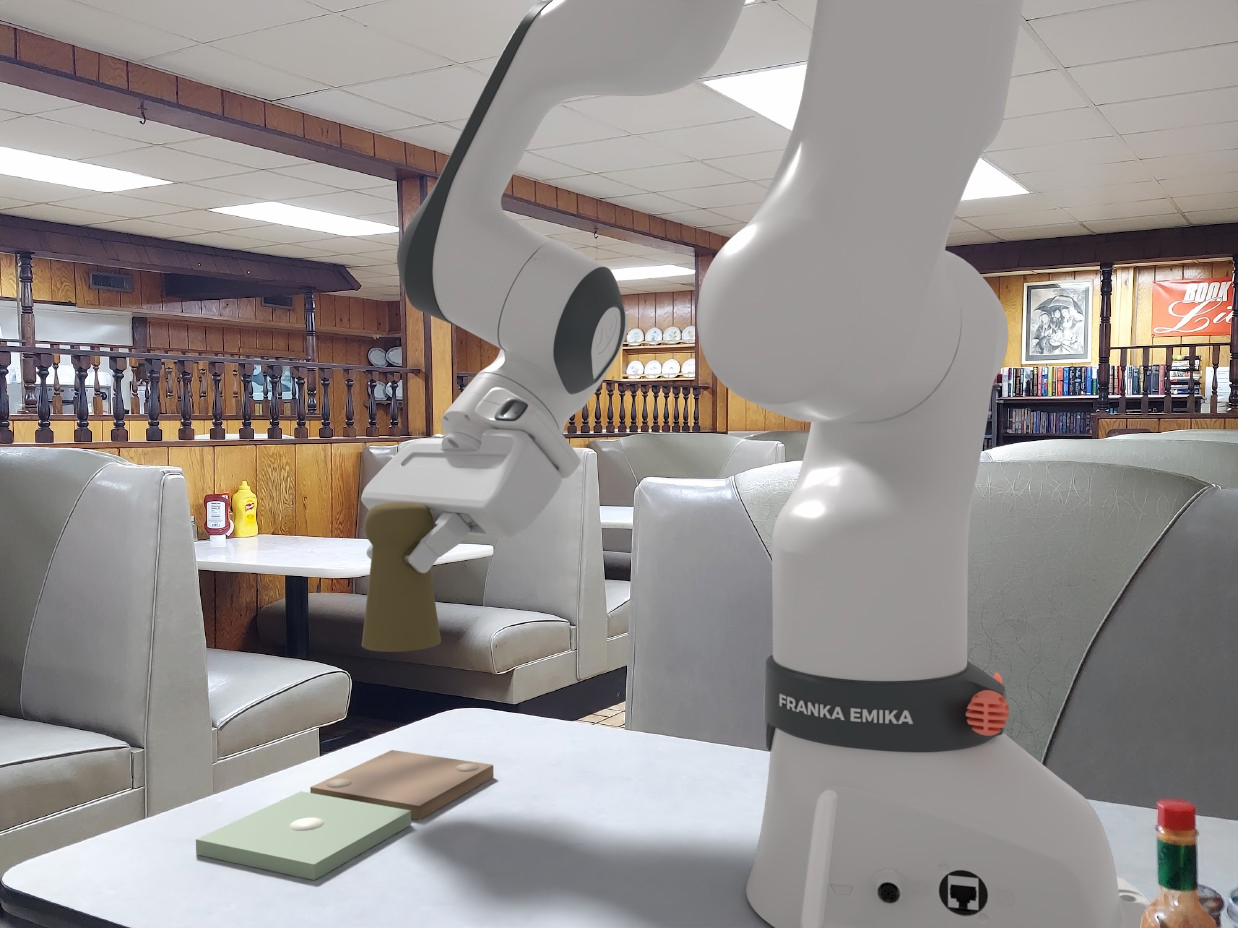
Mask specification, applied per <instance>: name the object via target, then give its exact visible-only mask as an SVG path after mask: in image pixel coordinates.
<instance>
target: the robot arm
mask: <svg viewBox="0 0 1238 928" xmlns="http://www.w3.org/2000/svg"><path fill="white" fill-rule="evenodd" d="M746 1H747V0H541V1H539V2H538V3H536V4H535V5H533V6H532V7H531V8H530V9H529V10H528V11H527V13H526V14H525V16H523V18H522V19H521V21H520V22H519V23H518V24H517V26H516V28H515V30H514V31H513V33H512V35H510V37H509V40H508V41H507V43H506V45H505V46H504V48H503V50H502V52H501V54H500V56H499V58H497V61H496V63H495V66H494V67H493V69H492V70H491V73H490V75H489V76H488V78H487V81H486V82H485V84H484V87H483V88H482V90H481V92H480V95H479V97H478V99H477V100H476V103H475V105H474V107H473V109H472V111H470V112H471V113H470V114H469V117H468V119H467V121H466V122H465V125H464V127H463V128H462V130H461V133H460V134H459V136H458V139H457V140H456V143H455V145H454V147H453V149H452V151H451V153H450V155H449V157H448V159H447V161H446V162H445V165H444V166H443V169H442V170H441V172H440V175H439V177H438V178H437V181H436V182H435V184H434V185H433V187H432V189H431V190H430V192H429V193H428V194H427V196H426V198H425V199H424V200H423V202H422V204H421V205H420V206H419V207H418V209H417V210H416V212H415V214H414V215H413V216H412V218H411V220H410V221H409V223H408V224H407V226H406V228H405V230H404V232H403V234H402V236H401V239H400V241H399V244H398V246H397V253H396V265H397V270H398V275H399V278H400V282H401V284H402V288H403V290H404V293H405V295H406V297H407V299H408V302H409V303H410V305H411V306H412V307H413V308H414V309H415V310H416V311H419V312H422V313H423V314H427V315H429V316H432V317H433V318H436V319H438V320H440V321H442V322H444V323H445V322H446V323H448V324H449V325H453V326H458V327H460V329H463V330H465V331H467V332H469V333H471V334H472V335H474V336H476V337H478V338H480V339H482V340H484V341H486V342H488V343H489V344H491V345H493V346H495V347H496V348H499V349H500V350H499V353H498V355H497V357H496V358H495V360H494V361H493V362H492V363H491V364H489V365H488V366H487V367H484V369H482V370H480V371H479V372H478V373H477V374H476V375H475V376H474V377H473V378H472V380H471V381H470V382H469V383H468V384H467V385H466V386H465V388H464V389H463V391H462V392H461V393H460V394H459V395H458V396H457V398H456V399H455V400H454V401H453V403H452V404H451V405H449V407H448V408H447V410H446V411H445V412H444V413H443V414H442V417H441V420H440V424H441V430H442V431H443V432H442V433H444V434H441V433H436V434H434V435H432V436H430V437H429V438H417V439H413V440H412V441H411V442H409V443H408V444H406V445H405V446H404V447H403V448H402V449H400V450H399V451H397V453H396V454H395V455H394V456H393V457H392V458H391V459H390V460H389V461H388V462H387V463H386V464H385V465H384V466H383V467H382V468H381V469H380V470H379V471H378V472H377V474H375V476H374V477H373V478H372V479H371V480H370V481H369V482H368V483H367V484H366V486H364V489H363V491H362V494H361V498H360V501H361V503H362V504H363V505H364V506H365V507H366V508H367V509H368V511H369V510H370V509H371V508H372V507H374V506H376V505H379V504H383V503H387V502H398V501H407V502H414V503H419V504H422V505H424V506H426V507H427V508H428V509H429V510H430V512H431V513H432V517H433V530H432V531H430V532H429V533H428V534H427V535H426V536H425V537H424V538H423V539H422V540H421V541H420V542H417V541H416V542H415V543H413V544H412V545H411V546H410V547H409V548H408V550H407V551H406V552H405V553H404V554H403V557H402V561H403V562H404V563H405V564H406V565H407V566H408V567H409V568H410V569H412V570H413V571H415V572H420V573H426V572H428V570H429V569H430V570H431V568H432V567H433V566H434V564H435V563H436V561H438V559H439V558H441V557H443V556H444V555H445V554H447V553H448V552H449V551H452V549H454V548H455V547H457V546H458V545H459V544H461V543H462V542H463V541H464V540H465V538H466V537H467V536H468V535H473V536H480V537H489V538H498V539H505V540H512V539H515V538H516V537H518V536H519V535H521V534H523V533H524V532H525V531H527V530H528V529H529V528H530V527H532V525H533V524H534V523H535V522H536V520H537V519H538V518H539V516H541V514H542V513H543V511H544V510H545V509H546V508H547V506H548V505H549V504H550V502H551V501H552V500H553V498H554V497H555V495H556V494H557V492H558V491H559V489H560V487H561V485H562V482H563V480H564V479H567V478H569V477H571V476H572V475H573V474H574V473H575V471H576V470H577V469H578V468H579V466H580V464H581V459H580V457H579V455H578V453H577V452H576V451H575V449H574V448H573V446H572V445H571V443H569V441H568V440H567V438H566V437H565V436H564V434H563V433H564V430H565V427H566V424H567V423H568V421H569V420H570V418H571V417H572V416H573V415H575V414H576V413H579V411H581V410H582V409H583V408H584V407H585V406H586V405H587V404H588V402H589V401H590V399H592V397H593V395H594V394H595V393H596V392H597V390H598V388H599V387H600V386H601V384H602V382H603V381H604V379H605V377H607V375H608V373H609V371H610V370H611V368H612V366H613V364H614V363H615V361H616V359H617V357H618V355H619V353H620V350H621V349H622V346H623V344H624V342H625V340H626V337H627V334H628V329H629V320H628V316H627V312H626V309H625V307H624V302H623V299H622V295H621V290H620V287H619V285H618V282H617V280H616V277H615V274H613V272H612V270H611V269H610V268H608V267H607V266H605V265H603V264H602V263H601V262H599V261H597V260H596V259H594V258H592V257H590V256H588V255H586V254H584V253H583V252H582V251H579V250H577V249H575V248H572V247H571V246H569V245H567V244H565V243H563V242H561V241H559V240H554V239H553V238H550V237H548V236H547V235H545V234H543V233H541V232H539V231H536V229H533V228H532V227H529V226H527V225H525V224H523V223H521V222H519V221H517V220H515V219H513V218H512V217H509V216H508V215H507V214H505V212H504V210H503V206H502V197H503V195H504V192H505V190H506V188H507V186H508V185H509V182H510V181H511V179H512V177H513V176H514V173H515V171H516V169H517V167H519V163H521V160H522V159H523V157H524V154H525V152H526V150H527V149H528V147H529V146H530V143H531V141H532V139H533V138H534V135H535V133H536V132H537V130H538V128H539V126H540V124H541V122H542V121H543V119H544V118H545V117H546V116H547V114H548V113H549V112H550V111H552V109H553V108H555V107H556V106H557V105H559V104H561V103H563V102H565V101H567V100H569V99H573V98H579V97H583V96H615V97H616V96H621V97H625V96H626V97H646V96H656V95H657V96H658V95H663V94H668V93H672V92H674V91H678V90H680V89H683V88H685V87H686V86H689V85H691V84H693V83H694V82H696V81H697V80H699V79H700V78H701V77H703V76H705V75H706V74H707V73H708V72H709V71H710V70H711V69H712V68H713V67H714V66H715V64H716V63H717V61H718V59H719V58H720V57H721V55H722V53H723V51H725V48H726V47H727V45H728V43H729V40H730V38H731V36H732V34H733V32H734V29H735V28H736V26H737V23H738V21H739V18H740V16H741V14H742V10H743V8H744V6H745V3H746ZM1023 5H1024V0H817V1H816V7H815V13H814V20H813V25H812V26H813V27H812V33H811V38H810V43H809V44H810V45H809V51H808V56H807V62H806V69H805V75H804V80H803V81H804V82H803V86H802V87H803V88H802V93H801V98H800V103H799V106H798V111H797V114H796V118H795V120H794V124H793V127H792V130H791V133H790V136H789V138H788V142H787V145H786V147H785V149H784V153H783V155H782V158H781V160H780V162H779V164H778V167H777V169H776V172H775V173H774V175H773V178H772V180H771V183H770V185H769V187H768V190H767V192H766V194H765V196H764V198H763V200H762V201H761V203H760V205H759V207H758V209H757V211H756V212H755V214H754V216H752V218H751V219H750V221H749V222H748V223H747V224H745V226H744V227H743V228H742V229H740V230H739V231H737V233H736V234H734V235H733V236H732V237H731V238H730V239H729V240H727V242H726V243H725V244H724V245H723V246H722V247H721V248H720V250H719V251H718V252H717V253H716V255H715V257H714V258H713V260H712V261H711V263H710V265H709V267H708V269H707V271H706V272H705V275H704V277H703V280H702V283H701V286H700V290H699V294H698V300H697V308H696V309H697V310H696V326H697V327H696V329H697V335H698V340H699V344H700V347H701V351H702V353H703V356H704V359H706V360H705V361H706V362H707V364H708V366H709V368H710V369H711V371H712V372H713V374H714V375H715V377H717V379H718V380H719V381H720V382H721V383H722V385H724V386H725V387H726V388H727V389H728V390H729V391H731V392H733V394H735V395H737V396H738V397H740V398H742V399H744V400H746V401H748V402H750V403H752V404H754V405H756V406H759V407H760V408H763V409H764V410H766V411H770V412H772V413H775V414H777V415H780V416H782V417H785V418H788V419H791V420H795V421H799V422H807V423H810V428H809V434H808V438H807V442H806V447H805V449H804V455H803V459H802V463H801V466H800V470H799V472H798V473H799V474H798V476H797V479H796V483H794V487H793V489H792V492H791V494H790V496H789V498H788V500H787V501H786V502H785V504H784V505H783V506H782V508H781V510H780V512H779V513H778V516H777V517H776V521H775V523H774V527H773V530H772V537H771V542H772V543H771V565H772V566H771V567H772V569H771V574H772V576H771V579H772V580H771V581H772V583H771V586H772V587H771V589H772V591H771V592H772V596H771V597H772V599H771V600H772V601H771V602H772V603H771V604H772V655H771V654H770V655H769V656H767V658H766V660H765V676H764V679H763V680H764V682H763V693H762V695H763V696H762V697H763V699H762V703H763V706H762V707H763V709H762V710H763V711H762V713H763V714H762V715H763V716H762V717H763V728H764V732H765V745H766V747H765V748H766V749H767V751H768V752H769V762H768V763H769V765H768V773H767V774H768V775H767V784H766V793H765V800H764V808H763V814H762V820H761V825H760V826H761V828H760V833H759V837H758V838H759V839H758V843H757V848H756V851H755V856H754V858H753V863H752V865H751V870H750V873H749V876H748V879H747V883H746V887H745V888H746V889H745V893H746V898H747V900H748V902H749V904H750V906H751V907H752V909H753V910H754V912H755V913H757V914H758V915H759V917H760V918H762V919H763V920H764V921H766V922H767V923H768V924H769V925H770V926H772V927H773V928H1140V923H1141V916H1142V915H1143V912H1144V910H1145V909H1146V907H1148V905H1149V904H1152V903H1151V901H1149V899H1148V898H1147V896H1145V894H1144V893H1142V892H1141V891H1140V890H1139V889H1138V888H1137V887H1136V886H1134V885H1132V884H1131V883H1130V882H1128V880H1127V881H1126V880H1125V879H1123V878H1122V877H1119V876H1117V870H1116V866H1115V865H1116V864H1115V860H1114V856H1113V852H1112V847H1111V844H1110V841H1109V838H1108V836H1107V832H1106V830H1105V827H1104V826H1103V823H1102V820H1101V819H1100V817H1099V815H1098V813H1097V812H1096V810H1095V809H1094V807H1093V806H1092V804H1091V803H1090V802H1089V800H1087V798H1085V796H1084V795H1082V794H1081V793H1079V792H1078V791H1077V790H1076V789H1074V788H1073V787H1072V786H1071V785H1070V784H1068V783H1067V782H1065V781H1064V780H1062V779H1061V777H1059V776H1058V775H1056V774H1055V773H1054V772H1052V771H1051V770H1050V769H1049V768H1048V767H1046V766H1045V765H1044V764H1043V763H1041V762H1040V761H1039V760H1038V759H1036V758H1035V757H1034V756H1032V755H1031V754H1030V753H1029V752H1027V751H1026V749H1024V748H1023V747H1021V746H1020V745H1019V744H1017V743H1016V742H1015V740H1013V739H1011V738H1010V737H1009V736H1008V735H1007V734H1005V733H1004V732H1005V728H1006V724H1007V722H1006V721H1007V719H1008V718H1009V715H1010V707H1009V704H1008V702H1007V697H1006V686H1004V684H1003V683H1004V681H1003V677H1002V676H1001V674H1000V673H999V672H995V673H994V676H993V677H992V676H991V675H990V674H988V673H987V672H985V671H984V670H983V669H981V668H980V667H978V666H976V665H975V664H974V663H972V662H970V661H969V660H968V600H969V599H968V598H969V597H968V596H969V595H968V593H969V592H968V588H969V587H968V583H969V580H968V579H969V577H968V576H969V574H968V573H969V572H968V570H969V567H968V565H969V560H968V559H969V535H970V534H969V532H970V523H971V522H970V521H971V512H972V506H973V499H974V492H975V487H976V482H977V477H978V473H979V472H978V471H979V466H980V463H981V462H980V461H981V456H982V451H983V445H984V441H985V435H986V429H987V424H988V417H989V416H988V415H989V411H990V406H991V405H990V403H991V397H992V391H993V386H994V382H995V380H996V378H997V376H998V374H999V372H1000V371H1001V368H1002V366H1003V364H1004V361H1005V358H1006V354H1007V352H1008V351H1007V350H1008V344H1009V326H1008V325H1009V323H1008V318H1007V315H1006V312H1005V309H1004V307H1003V305H1002V303H1001V301H1000V299H999V298H998V296H997V294H996V293H995V292H994V290H993V288H992V287H991V285H989V283H988V281H987V280H986V279H985V278H984V277H983V276H982V275H981V274H980V272H979V271H978V270H977V269H976V268H975V267H974V266H973V265H972V264H970V263H969V262H967V261H966V260H965V259H964V258H962V257H961V256H958V255H957V254H955V253H953V252H951V251H948V250H946V246H947V242H948V238H949V234H950V231H951V227H952V224H953V221H954V220H955V219H954V218H955V217H956V213H957V212H958V211H957V210H958V208H959V206H960V203H961V201H962V199H963V195H964V192H965V190H966V187H967V186H968V183H969V180H970V178H971V176H972V173H973V171H974V170H975V167H976V165H977V163H978V162H979V160H980V158H981V156H982V155H983V153H984V152H985V150H986V149H987V148H989V146H990V145H991V144H992V143H993V142H994V140H995V139H996V137H998V134H999V132H1000V130H1001V128H1002V125H1003V122H1004V120H1005V119H1004V118H1005V117H1004V116H1005V112H1006V111H1005V110H1006V106H1007V98H1008V94H1009V88H1010V81H1011V76H1012V70H1013V65H1014V58H1015V53H1016V47H1017V41H1018V35H1019V30H1020V24H1021V17H1022V11H1023ZM372 549H373V545H372V544H371V543H370V545H369V546H368V548H367V550H366V556H367V557H368V558H369V559H370V560H371V557H372Z"/></svg>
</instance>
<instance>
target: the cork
mask: <svg viewBox="0 0 1238 928" xmlns="http://www.w3.org/2000/svg"><path fill="white" fill-rule="evenodd" d="M432 530H433V517H432V513H431V512H430V510H429V509H428V508H427V507H426V506H424V505H422V504H419V503H414V502H407V501H398V502H387V503H383V504H379V505H376V506H374V507H372V508H371V509H370V510H369V509H368V511H367V513H366V515H365V521H364V531H365V535H366V538H367V540H368V541H369V542H370V545H371V544H372V545H373V549H372V557H371V559H370V569H369V576H368V577H369V578H368V585H367V597H366V604H365V614H364V622H363V631H362V637H361V638H362V640H361V647H362V648H363V649H364V650H368V651H374V652H383V653H385V652H387V653H391V652H393V653H394V652H395V653H396V652H411V651H421V650H426V649H429V648H433V647H436V646H438V645H440V644H441V642H442V638H441V632H440V624H439V619H438V612H437V606H436V599H435V593H434V585H433V579H432V573H431V568H430V569H429V570H428V572H426V573H420V572H415V571H413V570H412V569H410V568H409V567H408V566H407V565H406V564H405V563H404V562H403V561H402V557H403V554H404V553H405V552H406V551H407V550H408V548H409V547H410V546H411V545H412V544H413V543H415V542H416V541H417V542H420V541H421V540H422V539H423V538H424V537H425V536H426V535H427V534H428V533H429V532H430V531H432Z"/></svg>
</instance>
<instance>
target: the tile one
mask: <svg viewBox="0 0 1238 928" xmlns="http://www.w3.org/2000/svg"><path fill="white" fill-rule="evenodd" d="M409 826H412V818H411V810H405V809H399V808H393V807H388V806H382V805H376V804H371V803H365V802H359V801H353V800H348V799H342V798H336V797H331V796H325V795H319V794H313V793H310V792H306V791H301V790H300V791H299V792H297V793H294V794H292V795H290V796H288V797H286V798H284V799H282V800H279V801H277V802H275V803H272V804H271V805H269V806H268V805H267V806H266V807H263V808H261V809H260V810H257V811H254V812H253V813H250V814H249V815H246V816H244V817H241V818H239V819H237V820H235V821H232V822H231V823H228V824H226V825H224V826H222V827H219V828H218V829H216V830H213V831H211V832H209V833H206V834H204V835H202V836H200V837H197V838H195V855H198V856H203V857H207V858H211V859H216V860H220V861H221V860H222V861H226V862H230V863H234V864H238V865H242V866H243V865H245V866H248V867H253V868H258V869H262V870H266V871H271V872H274V873H275V872H276V873H280V874H285V875H289V876H294V877H297V878H302V879H306V880H311V881H315V880H317V879H319V878H320V877H323V876H325V875H326V874H328V873H329V872H331V871H333V870H335V869H336V868H338V867H340V866H342V865H343V864H345V863H347V862H349V861H350V860H352V859H354V858H356V857H357V856H359V855H360V854H363V853H364V852H366V851H368V850H369V849H371V848H373V847H374V846H377V845H378V844H380V843H382V842H383V841H384V840H387V839H390V837H392V836H394V835H395V834H397V833H399V832H401V831H402V830H404V829H406V828H408V827H409Z"/></svg>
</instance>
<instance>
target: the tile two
mask: <svg viewBox="0 0 1238 928" xmlns="http://www.w3.org/2000/svg"><path fill="white" fill-rule="evenodd" d="M494 777H495V776H494V764H491V763H482V762H477V761H471V760H464V759H457V758H450V757H443V756H435V755H430V754H422V753H415V752H408V751H402V750H397V749H396V750H395V749H391V750H389V751H386V752H384V753H382V754H380V755H378V756H376V757H375V756H374V757H373V758H371V759H369V760H366V761H365V762H363V763H360V764H358V765H356V766H354V767H352V768H349V769H347V770H346V771H345V770H344V771H343V772H340V773H338V774H336V775H333V776H331V777H329V778H327V779H325V780H323V781H320V782H318V783H316V784H314V785H312V786H310V787H309V789H310V790H309V791H310V792H309V793H313V794H319V795H325V796H331V797H336V798H342V799H348V800H353V801H359V802H365V803H371V804H376V805H382V806H388V807H393V808H399V809H405V810H411V819H415V820H419V821H420V820H422V819H424V818H425V817H427V816H429V815H430V814H432V813H434V812H436V811H437V810H439V809H440V808H441V809H442V807H444V806H446V805H448V804H450V803H451V802H452V801H455V800H457V799H458V798H459V797H461V796H463V795H465V794H467V793H468V792H470V791H472V790H473V789H476V788H477V787H479V786H480V785H482V784H484V783H486V782H488V781H490V780H491V779H493V778H494Z"/></svg>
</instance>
